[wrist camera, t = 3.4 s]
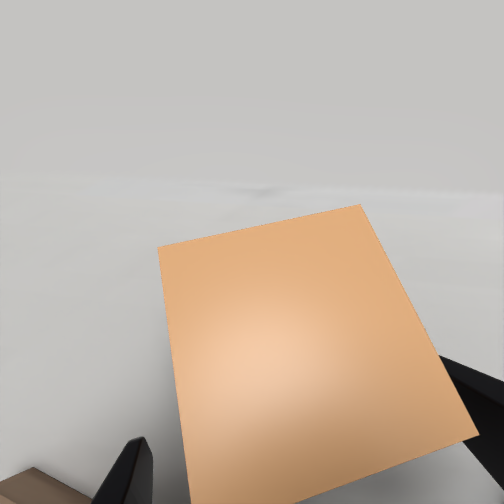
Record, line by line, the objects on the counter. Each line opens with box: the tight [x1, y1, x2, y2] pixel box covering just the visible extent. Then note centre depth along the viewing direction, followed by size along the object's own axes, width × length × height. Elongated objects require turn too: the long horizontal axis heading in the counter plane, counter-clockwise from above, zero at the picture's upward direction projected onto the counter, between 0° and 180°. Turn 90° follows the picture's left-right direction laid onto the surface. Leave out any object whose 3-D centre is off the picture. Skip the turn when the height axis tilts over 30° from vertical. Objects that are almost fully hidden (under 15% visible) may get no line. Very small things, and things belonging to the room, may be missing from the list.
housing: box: [158, 204, 479, 504], centre depth 12 cm, size 5×5×14 cm
